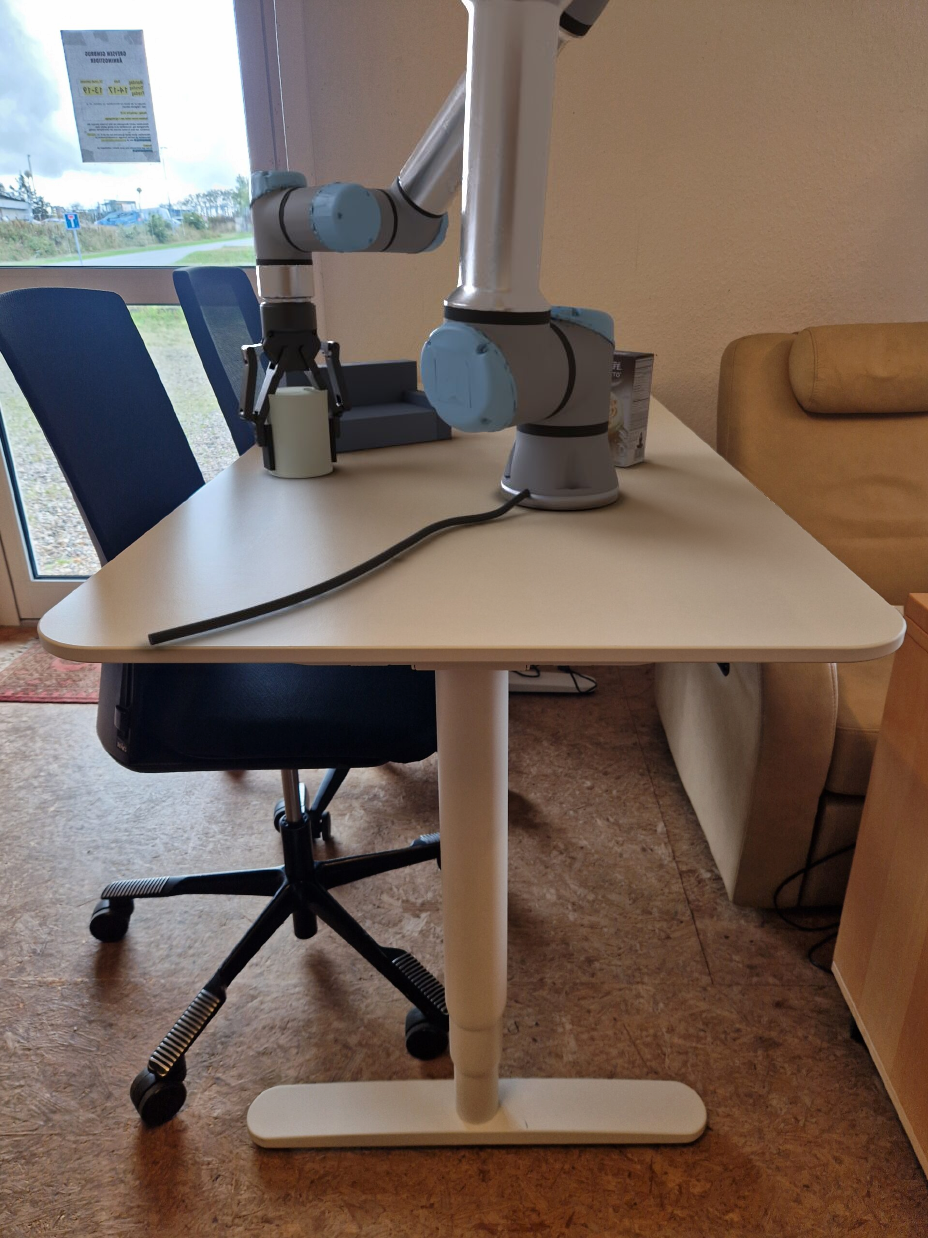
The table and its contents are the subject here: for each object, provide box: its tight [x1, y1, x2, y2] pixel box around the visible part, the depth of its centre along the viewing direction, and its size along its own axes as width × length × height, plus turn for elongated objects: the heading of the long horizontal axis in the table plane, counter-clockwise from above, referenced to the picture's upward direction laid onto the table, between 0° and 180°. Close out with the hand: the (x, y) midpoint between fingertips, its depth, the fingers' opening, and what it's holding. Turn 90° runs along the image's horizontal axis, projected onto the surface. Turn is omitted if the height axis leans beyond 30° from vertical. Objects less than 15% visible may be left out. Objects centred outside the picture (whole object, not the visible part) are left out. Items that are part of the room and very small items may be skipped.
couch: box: [278, 358, 453, 453], centre depth 141 cm, size 16×25×12 cm, turn 122°
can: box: [265, 387, 334, 479], centre depth 118 cm, size 9×9×12 cm
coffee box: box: [608, 349, 655, 468], centre depth 124 cm, size 9×6×16 cm
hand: (301, 464), depth 120 cm, fingers closed on can, 9 cm apart
